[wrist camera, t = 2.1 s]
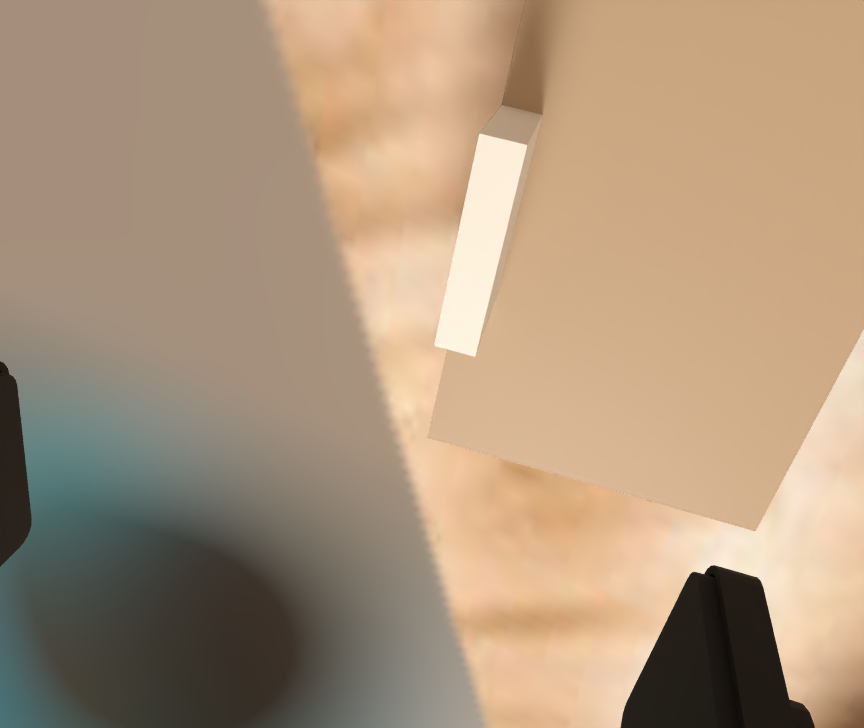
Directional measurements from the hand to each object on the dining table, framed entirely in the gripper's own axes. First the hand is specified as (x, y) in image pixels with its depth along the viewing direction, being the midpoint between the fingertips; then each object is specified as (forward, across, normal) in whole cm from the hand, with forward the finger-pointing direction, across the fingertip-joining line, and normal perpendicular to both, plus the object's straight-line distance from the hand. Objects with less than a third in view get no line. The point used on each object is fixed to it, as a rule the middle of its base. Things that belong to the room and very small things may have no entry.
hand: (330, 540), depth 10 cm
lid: (+16, -6, 0) cm, 17 cm away
